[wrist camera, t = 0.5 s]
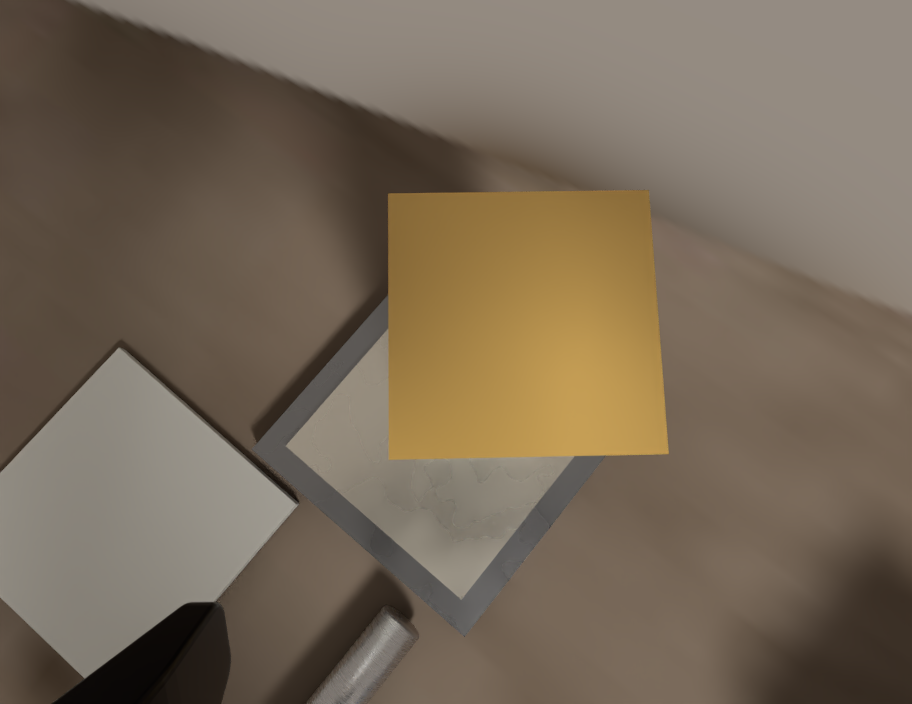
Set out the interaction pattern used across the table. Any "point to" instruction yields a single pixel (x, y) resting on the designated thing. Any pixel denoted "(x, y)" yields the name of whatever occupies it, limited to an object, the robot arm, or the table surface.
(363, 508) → the case base
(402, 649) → the rod
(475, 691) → the table surface
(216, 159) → the table surface
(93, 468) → the case lid
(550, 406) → the block
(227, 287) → the table surface
